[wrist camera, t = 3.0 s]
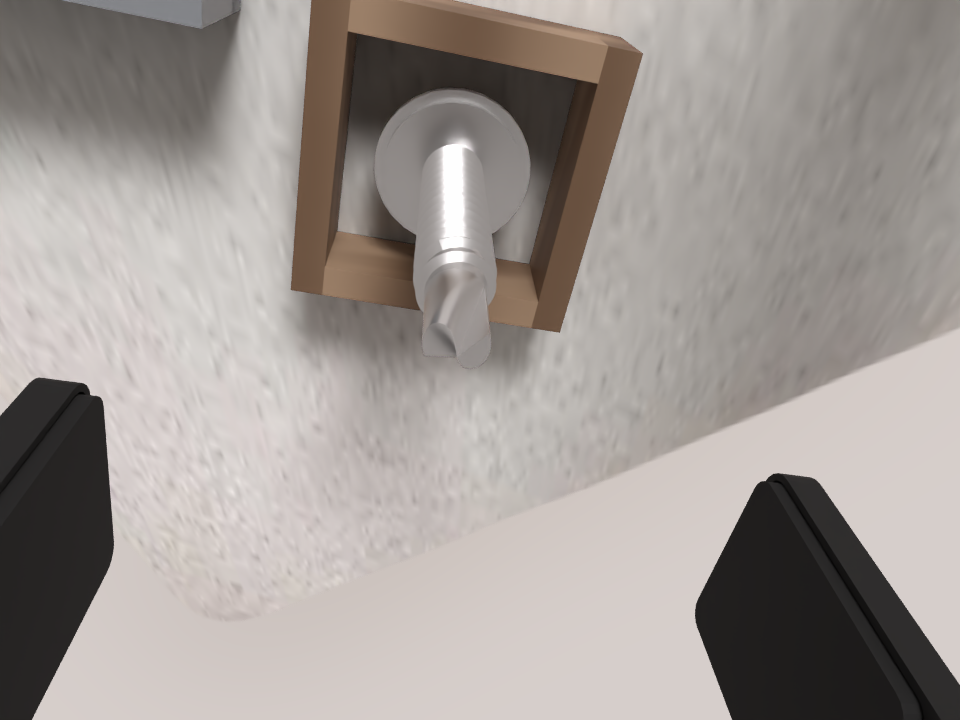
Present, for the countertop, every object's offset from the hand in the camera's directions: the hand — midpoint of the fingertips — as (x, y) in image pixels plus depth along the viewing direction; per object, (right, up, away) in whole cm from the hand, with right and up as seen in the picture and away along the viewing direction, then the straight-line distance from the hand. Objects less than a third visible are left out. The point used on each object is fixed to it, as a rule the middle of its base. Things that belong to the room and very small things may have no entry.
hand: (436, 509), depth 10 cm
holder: (0, +9, +14) cm, 16 cm away
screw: (0, +9, +14) cm, 17 cm away
